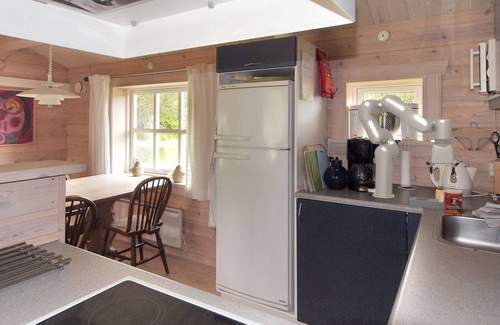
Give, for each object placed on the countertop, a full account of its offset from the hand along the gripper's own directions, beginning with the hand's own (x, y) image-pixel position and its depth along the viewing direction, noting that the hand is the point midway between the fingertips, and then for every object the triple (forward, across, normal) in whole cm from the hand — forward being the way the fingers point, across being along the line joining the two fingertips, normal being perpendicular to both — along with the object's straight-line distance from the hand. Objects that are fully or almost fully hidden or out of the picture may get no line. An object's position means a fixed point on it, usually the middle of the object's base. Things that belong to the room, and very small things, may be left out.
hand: (441, 174), depth 182 cm
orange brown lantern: (+16, -1, 0) cm, 16 cm away
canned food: (+17, +5, -18) cm, 25 cm away
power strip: (+16, -5, -8) cm, 19 cm away
